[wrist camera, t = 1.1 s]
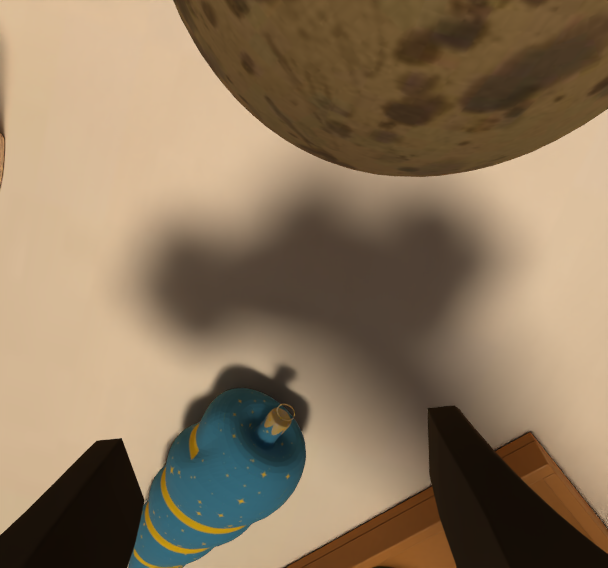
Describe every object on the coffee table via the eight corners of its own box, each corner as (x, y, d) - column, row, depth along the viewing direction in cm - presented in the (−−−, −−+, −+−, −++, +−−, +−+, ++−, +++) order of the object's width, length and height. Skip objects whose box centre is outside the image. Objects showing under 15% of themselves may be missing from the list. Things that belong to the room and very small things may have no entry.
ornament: (130, 505, 29) (261, 330, 22) (200, 564, 29) (356, 407, 22) (62, 584, 24) (201, 396, 17) (145, 655, 24) (320, 493, 17)
